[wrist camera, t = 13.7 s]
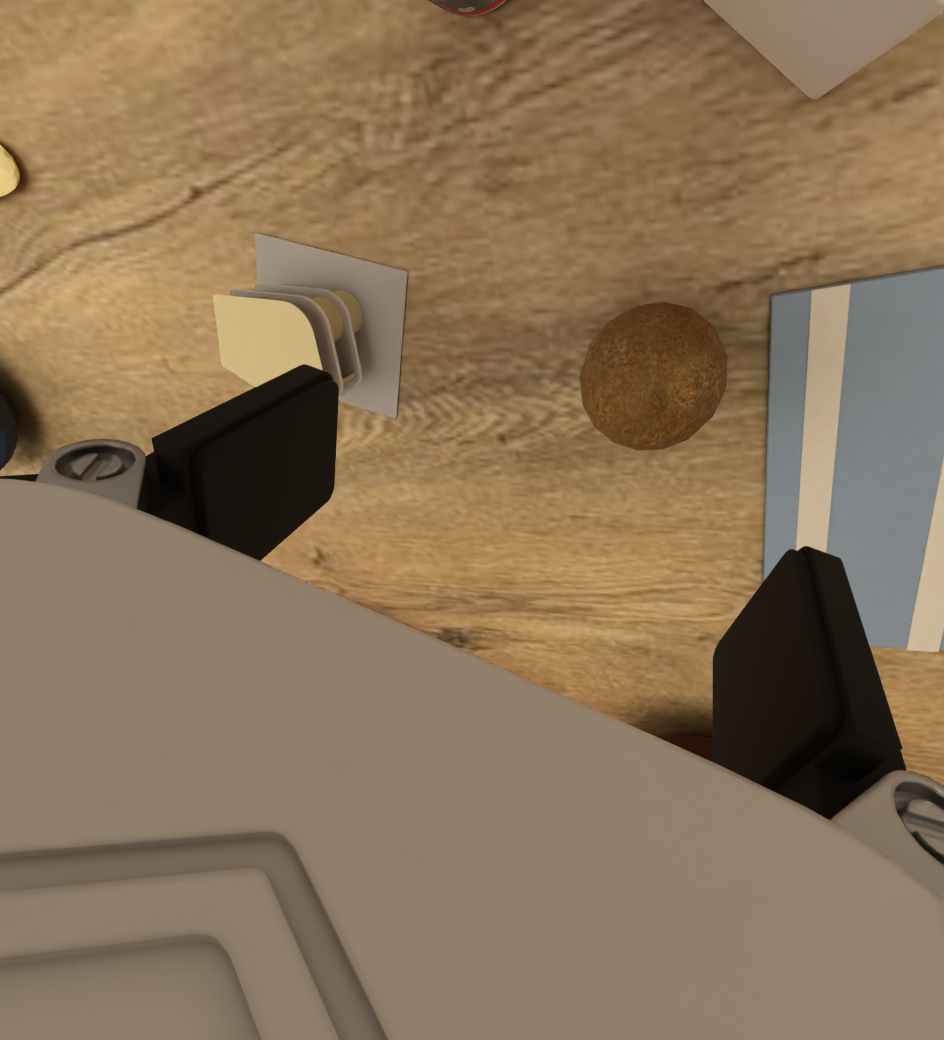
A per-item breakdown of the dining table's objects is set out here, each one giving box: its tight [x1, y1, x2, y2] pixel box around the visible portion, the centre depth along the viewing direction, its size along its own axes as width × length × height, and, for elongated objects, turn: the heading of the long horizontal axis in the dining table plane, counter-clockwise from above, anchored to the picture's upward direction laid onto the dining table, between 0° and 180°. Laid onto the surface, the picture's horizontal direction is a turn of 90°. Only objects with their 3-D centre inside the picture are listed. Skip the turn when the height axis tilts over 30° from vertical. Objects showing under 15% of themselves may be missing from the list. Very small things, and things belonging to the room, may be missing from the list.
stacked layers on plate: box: [213, 232, 408, 419], centre depth 31 cm, size 10×9×6 cm
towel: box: [763, 266, 944, 652], centre depth 27 cm, size 20×10×1 cm, turn 14°
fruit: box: [580, 302, 727, 450], centre depth 24 cm, size 6×6×8 cm
